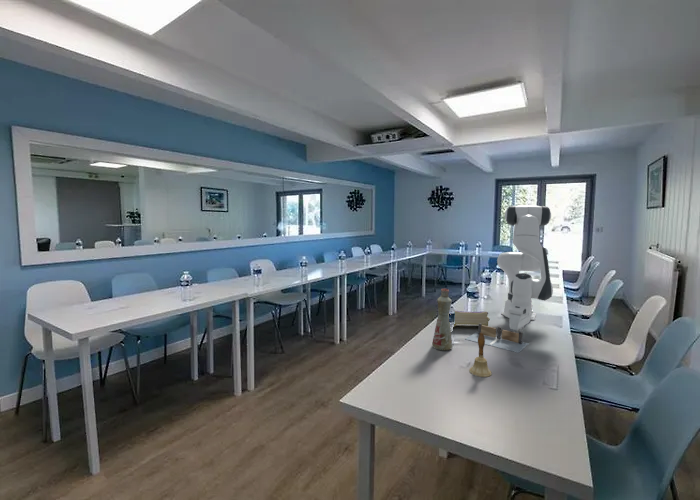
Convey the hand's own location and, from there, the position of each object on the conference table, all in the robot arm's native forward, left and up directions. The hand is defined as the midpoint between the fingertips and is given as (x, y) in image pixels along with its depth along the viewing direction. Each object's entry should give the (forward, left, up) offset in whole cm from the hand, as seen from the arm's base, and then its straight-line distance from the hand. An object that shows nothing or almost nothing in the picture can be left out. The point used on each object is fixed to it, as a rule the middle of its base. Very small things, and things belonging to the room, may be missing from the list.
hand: (519, 334), depth 176 cm
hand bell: (+48, 0, -3) cm, 48 cm away
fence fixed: (+5, -13, -3) cm, 14 cm away
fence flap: (+5, -2, -2) cm, 6 cm away
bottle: (+35, -23, -3) cm, 42 cm away
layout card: (+10, -8, -3) cm, 13 cm away
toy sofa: (-2, -27, -3) cm, 28 cm away
